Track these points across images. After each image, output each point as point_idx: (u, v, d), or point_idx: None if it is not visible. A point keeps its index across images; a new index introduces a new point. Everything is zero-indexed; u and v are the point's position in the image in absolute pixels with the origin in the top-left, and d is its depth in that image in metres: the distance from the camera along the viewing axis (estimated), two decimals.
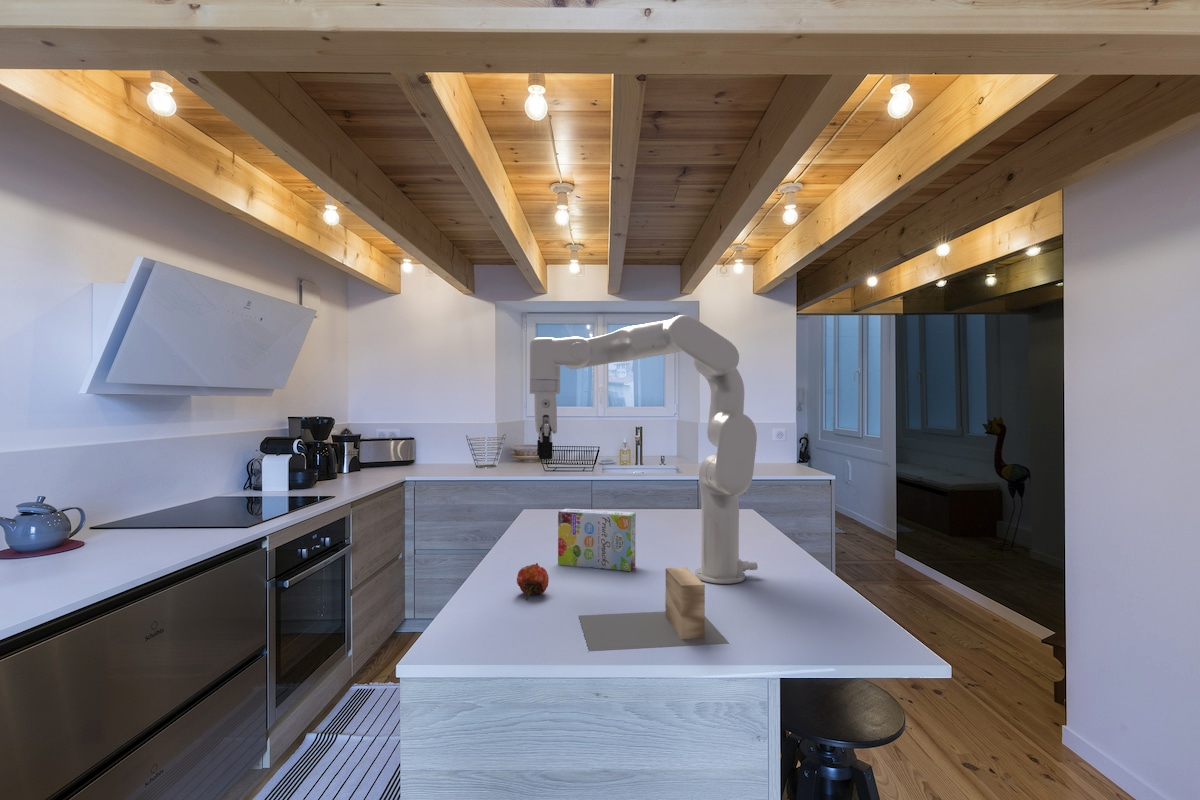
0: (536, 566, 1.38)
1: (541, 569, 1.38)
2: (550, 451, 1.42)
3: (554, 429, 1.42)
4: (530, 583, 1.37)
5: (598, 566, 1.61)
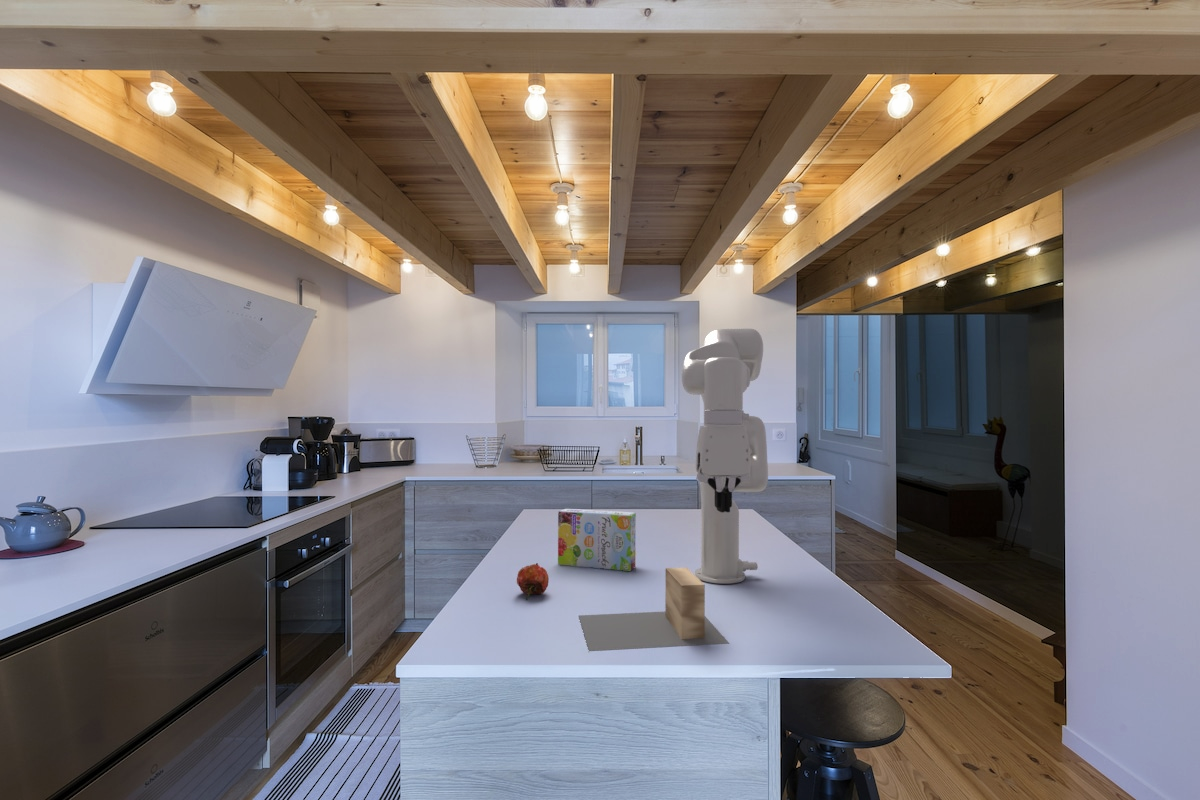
0: (536, 566, 1.38)
1: (541, 569, 1.38)
2: None
3: None
4: (530, 583, 1.37)
5: (598, 566, 1.61)
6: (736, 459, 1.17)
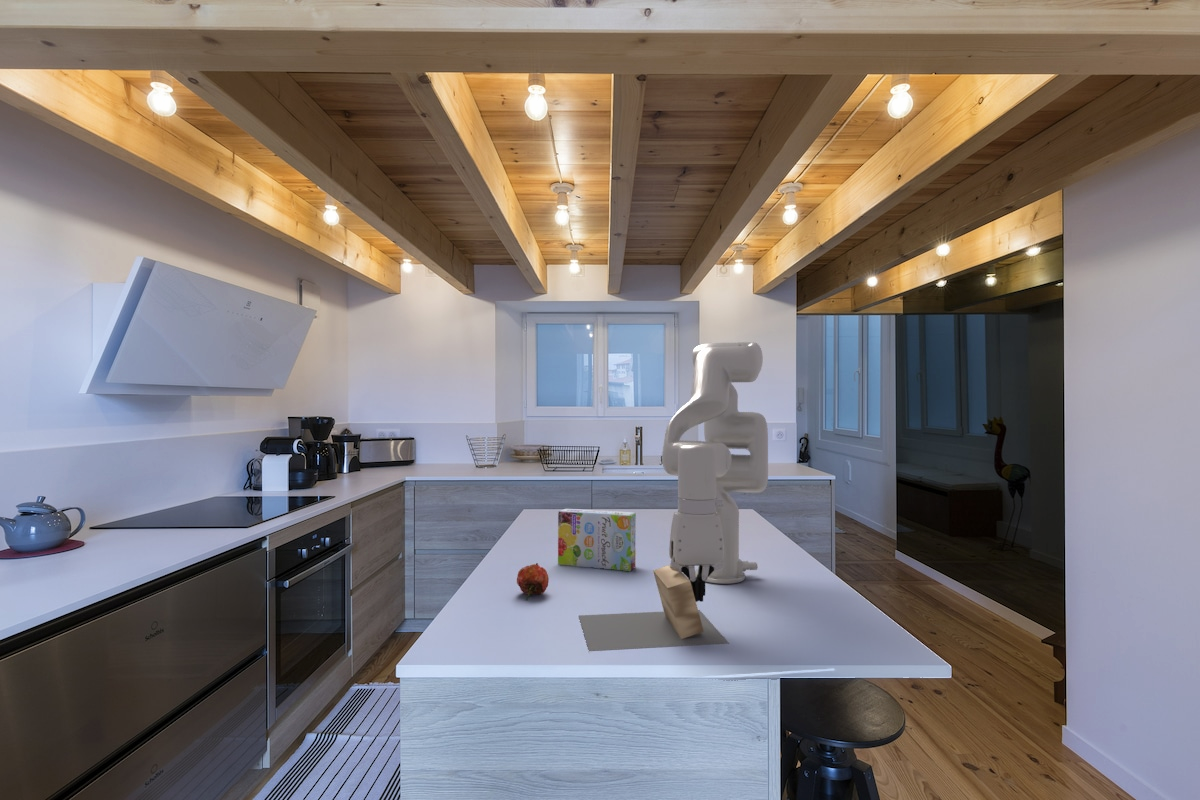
0: (536, 566, 1.38)
1: (541, 569, 1.38)
2: None
3: None
4: (530, 583, 1.37)
5: (598, 566, 1.61)
6: (709, 548, 1.16)
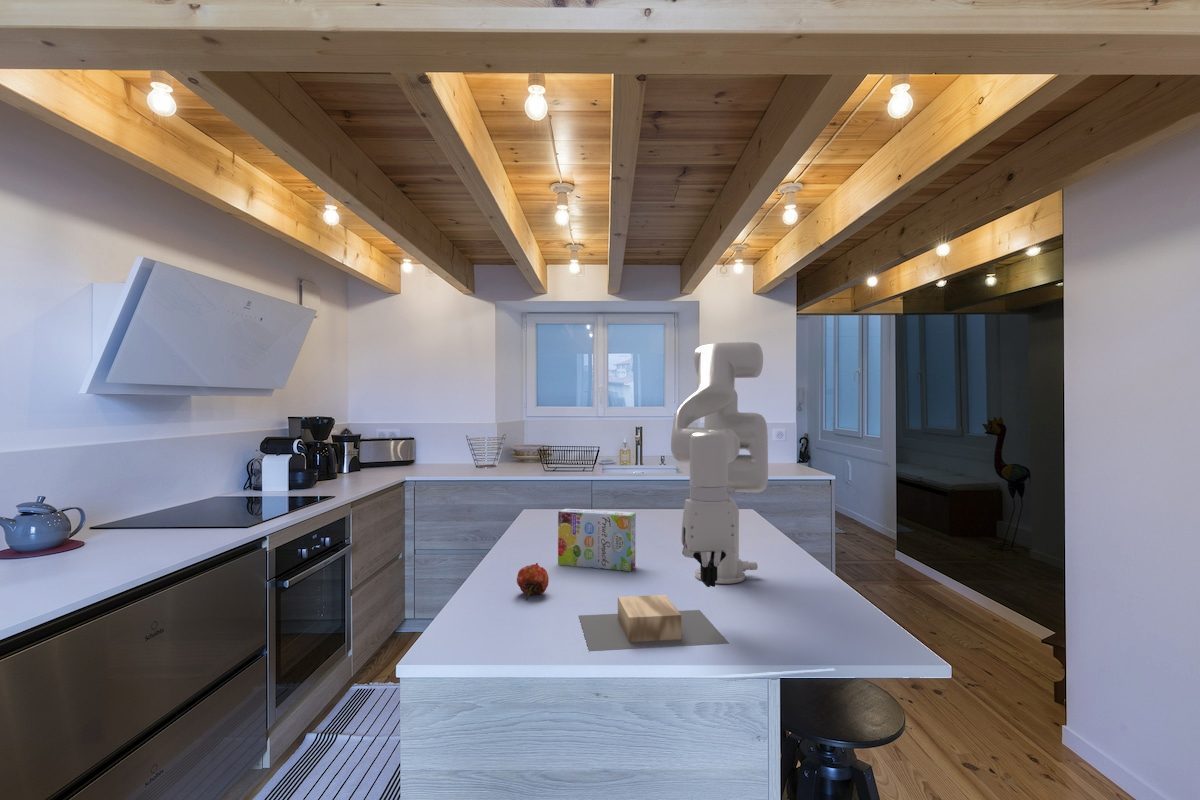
0: (536, 566, 1.38)
1: (541, 569, 1.38)
2: None
3: None
4: (530, 583, 1.37)
5: (598, 566, 1.61)
6: (721, 535, 1.17)
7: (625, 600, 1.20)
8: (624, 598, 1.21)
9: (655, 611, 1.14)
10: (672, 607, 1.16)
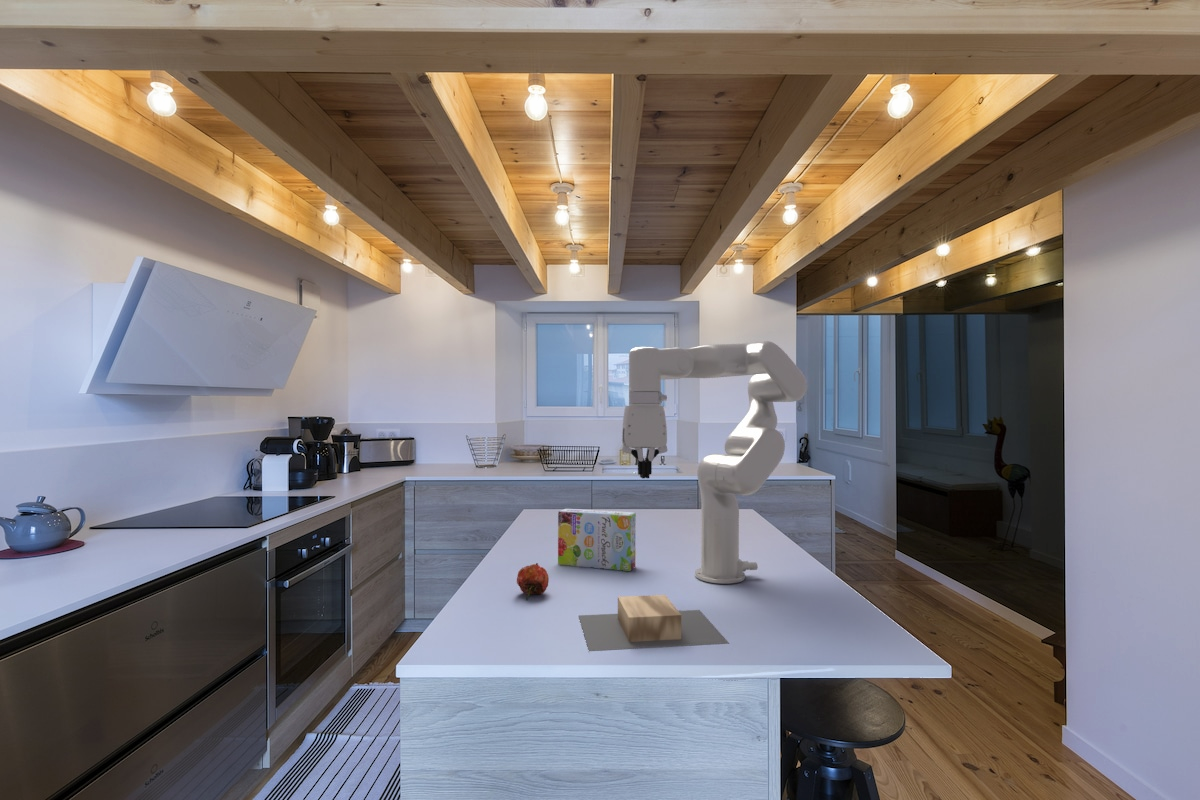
0: (536, 566, 1.38)
1: (541, 569, 1.38)
2: None
3: None
4: (530, 583, 1.37)
5: (598, 566, 1.61)
6: (654, 433, 1.38)
7: (625, 600, 1.20)
8: (624, 598, 1.21)
9: (655, 611, 1.14)
10: (672, 607, 1.16)
